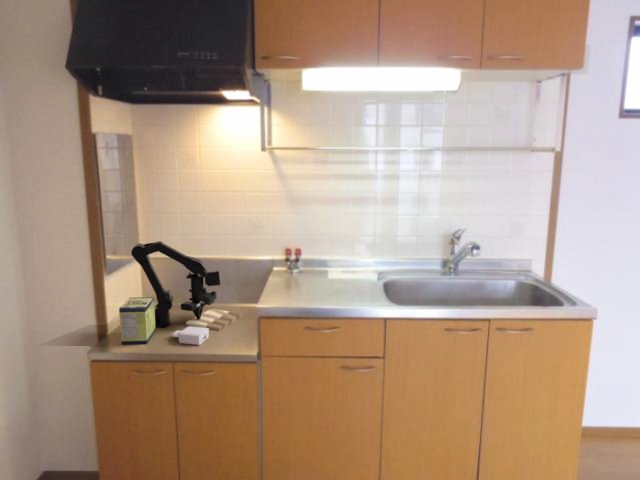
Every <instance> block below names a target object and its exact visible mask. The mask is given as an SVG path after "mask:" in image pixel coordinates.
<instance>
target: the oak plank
mask: <svg viewBox="0 0 640 480" xmlns="http://www.w3.org/2000/svg"><path fill="white" fill-rule="evenodd" d="M227 313H229V311H228V310H222V309H214V308H210V309H208V310H206V311H204V312H202V314H201V318H200V319H199V320H198V319H197V318H196V316H195V317H193V318H191V319H189V320H187V321H185V325H186V326H187V327H189V326H190V327H201V328H206V326H207V325H208V324H210V323H212V322H214V321H215V320H217V319H219V318H220V317H222V316H224V315H226V314H227Z"/></svg>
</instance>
